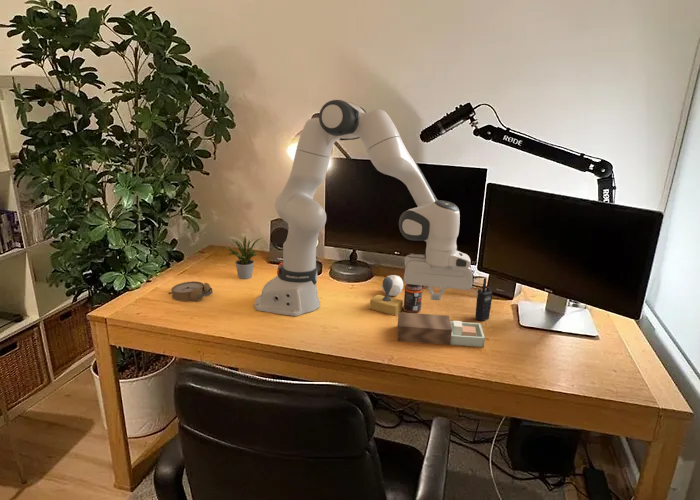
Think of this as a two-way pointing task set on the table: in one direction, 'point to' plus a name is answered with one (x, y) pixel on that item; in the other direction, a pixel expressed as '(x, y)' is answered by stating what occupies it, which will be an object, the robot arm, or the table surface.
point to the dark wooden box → (424, 328)
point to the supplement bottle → (412, 298)
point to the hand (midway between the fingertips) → (435, 299)
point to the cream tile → (457, 328)
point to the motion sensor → (395, 285)
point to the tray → (469, 340)
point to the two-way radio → (483, 303)
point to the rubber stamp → (386, 300)
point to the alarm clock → (191, 291)
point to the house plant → (244, 259)
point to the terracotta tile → (468, 331)
